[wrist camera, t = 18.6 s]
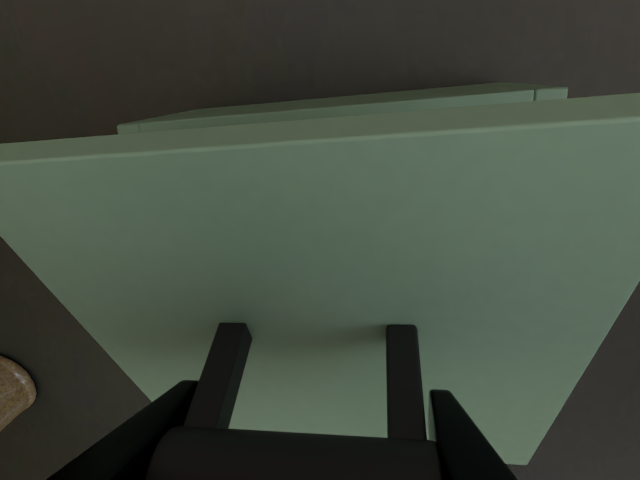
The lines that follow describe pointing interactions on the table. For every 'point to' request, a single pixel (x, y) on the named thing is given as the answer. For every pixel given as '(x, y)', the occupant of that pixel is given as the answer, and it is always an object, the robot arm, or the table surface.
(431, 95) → the green open box
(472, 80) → the table surface
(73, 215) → the green box lid
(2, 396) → the spice jar
